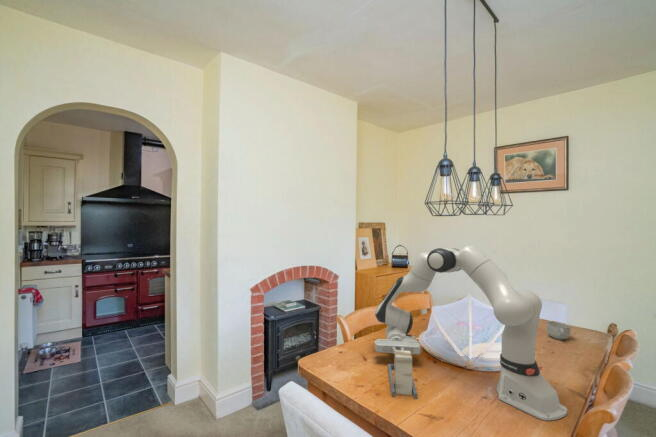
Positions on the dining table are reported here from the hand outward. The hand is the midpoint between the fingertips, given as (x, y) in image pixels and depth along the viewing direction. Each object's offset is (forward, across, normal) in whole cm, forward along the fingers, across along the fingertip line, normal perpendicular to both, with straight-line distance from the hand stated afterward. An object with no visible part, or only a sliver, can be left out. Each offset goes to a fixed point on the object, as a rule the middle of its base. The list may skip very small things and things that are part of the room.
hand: (399, 354), depth 136 cm
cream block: (+15, 0, +7) cm, 17 cm away
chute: (+9, 0, +8) cm, 12 cm away
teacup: (-51, +93, +9) cm, 107 cm away
